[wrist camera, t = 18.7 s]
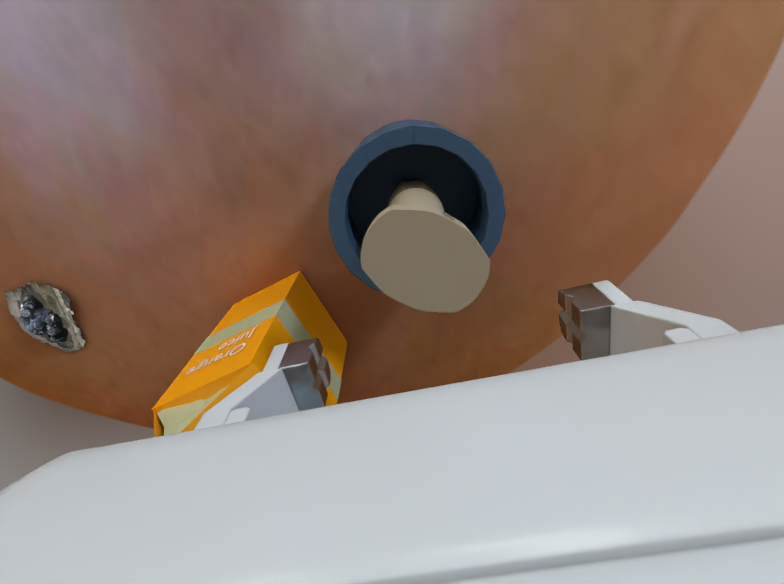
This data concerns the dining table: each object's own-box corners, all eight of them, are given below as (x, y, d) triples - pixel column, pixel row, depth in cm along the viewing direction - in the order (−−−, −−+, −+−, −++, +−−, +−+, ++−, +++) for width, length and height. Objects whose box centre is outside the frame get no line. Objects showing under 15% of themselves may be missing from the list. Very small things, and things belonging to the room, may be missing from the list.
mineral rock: (54, 270, 37) (38, 278, 35) (108, 340, 40) (96, 351, 38) (-5, 293, 38) (-24, 302, 36) (53, 359, 41) (38, 371, 39)
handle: (431, 239, 35) (455, 328, 21) (364, 205, 34) (345, 276, 20) (460, 189, 33) (508, 251, 19) (390, 151, 32) (390, 188, 18)
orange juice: (284, 371, 42) (202, 578, 24) (231, 304, 38) (89, 484, 20) (350, 342, 40) (315, 538, 22) (301, 268, 37) (214, 429, 19)
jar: (325, 139, 32) (305, 150, 25) (470, 104, 31) (494, 104, 24) (361, 271, 37) (354, 312, 30) (488, 244, 36) (512, 280, 29)
